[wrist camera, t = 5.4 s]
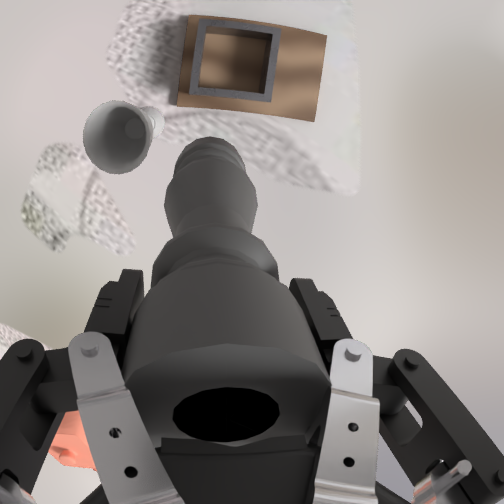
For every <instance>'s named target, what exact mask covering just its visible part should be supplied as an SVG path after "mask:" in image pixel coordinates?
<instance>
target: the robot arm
mask: <svg viewBox="0 0 504 504" xmlns="http://www.w3.org/2000/svg"><path fill="white" fill-rule="evenodd" d="M289 290H290V292H291V293H292V295H293V296H294V298H295V299H296V301H297V302H298V304H299V305H300V307H301V308H302V310H303V313H304V315H305V317H306V320H307V322H308V325H309V327H310V330H311V332H312V335H313V337H314V340H315V342H316V345H317V347H318V350H319V352H320V355H321V357H322V360H323V363H324V365H325V368H326V370H327V373H328V375H329V378H330V380H331V383H332V386H328V388H327V390H326V392H325V394H324V396H323V400H322V403H321V406H320V409H319V411H318V413H317V415H316V417H315V419H314V421H313V423H312V425H311V426H308V428H307V430H306V432H305V433H304V434H302V435H292V436H280V437H270V438H267V439H263V440H260V441H256V442H253V443H249V444H245V445H242V446H237V447H234V446H228V445H223V444H218V443H213V442H208V441H204V440H200V439H182V438H163V437H161V447H156V448H154V446H153V444H152V442H151V440H150V438H149V435H148V433H147V431H146V429H145V426H144V424H143V422H142V420H141V417H140V415H139V412H138V410H137V408H136V405H135V403H134V400H133V398H132V395H131V393H130V391H129V389H128V388H126V386H125V385H124V380H123V377H122V375H121V373H122V368H123V363H124V358H125V353H126V349H127V344H128V339H129V335H130V331H131V326H132V322H133V318H134V313H135V312H136V310H137V309H138V307H139V306H140V304H141V302H142V301H143V299H144V282H143V271H142V270H132V269H123V270H122V273H121V276H120V279H119V281H118V282H114V281H109V282H108V283H107V284H106V285H104V286H103V287H102V288H101V290H100V292H99V295H98V297H97V300H96V302H95V304H94V307H93V309H92V312H91V314H90V317H89V320H88V322H87V325H86V328H85V330H84V333H81V334H79V335H77V336H75V337H74V338H73V339H72V340H71V342H70V344H69V346H68V347H67V348H63V349H56V350H47V351H45V350H44V347H43V345H42V344H41V343H40V342H38V341H36V340H34V339H23V340H19V341H17V342H15V343H14V344H13V345H11V347H10V348H9V349H8V350H7V352H6V353H5V354H4V356H3V357H2V359H1V360H0V504H36V502H35V500H34V499H33V497H32V496H31V493H32V490H33V487H34V485H35V482H36V480H37V477H38V475H39V472H40V470H41V467H42V465H43V463H44V460H45V458H46V456H47V453H48V451H49V449H50V446H51V444H52V442H53V439H54V437H55V435H56V433H57V430H58V428H59V426H60V424H61V422H62V420H63V417H64V415H65V413H66V412H71V411H78V410H79V414H80V417H81V421H82V425H83V428H84V432H85V435H86V439H87V442H88V445H89V449H90V452H91V455H92V458H93V461H94V464H95V467H96V470H97V473H98V475H99V478H100V481H101V484H100V485H99V486H98V487H97V488H96V489H95V490H94V491H93V492H92V493H91V494H90V495H89V496H87V497H86V498H85V499H84V500H83V501H82V502H81V503H80V504H411V503H409V502H408V501H406V500H405V499H403V498H402V497H400V496H398V495H397V494H395V493H394V492H392V491H391V490H389V489H388V488H386V487H385V486H383V485H381V484H380V483H379V482H377V481H376V469H377V456H378V455H377V454H378V439H379V438H378V437H379V433H380V434H381V436H382V437H383V439H384V441H385V442H386V443H387V445H388V447H389V448H390V450H391V451H392V453H393V455H394V456H395V458H396V459H397V461H398V462H399V464H400V466H401V467H402V469H403V470H404V472H405V473H406V475H407V476H408V478H409V480H410V481H411V483H412V484H413V486H414V492H413V494H414V497H413V499H412V504H495V503H497V502H498V501H500V500H501V499H503V498H504V456H503V454H502V453H501V452H500V451H499V449H498V448H497V447H496V445H495V444H494V443H493V441H492V440H491V439H490V437H489V436H488V435H487V433H486V432H485V431H484V430H483V429H482V427H481V426H480V425H479V424H478V422H477V421H476V420H475V418H474V417H473V416H472V415H471V413H470V412H469V411H468V410H467V408H466V407H465V406H464V405H463V403H462V402H461V401H460V400H459V399H458V397H457V396H456V395H455V394H454V393H453V391H452V390H451V389H450V388H449V386H448V385H447V384H446V383H445V382H444V380H443V379H442V378H441V377H440V376H439V375H438V373H437V372H436V371H435V370H434V369H433V368H432V367H431V365H430V364H429V363H428V362H427V361H426V360H425V358H424V357H423V356H422V355H421V354H419V353H418V352H415V351H413V350H410V349H401V350H399V351H397V352H396V353H395V355H394V357H393V358H392V359H390V358H384V357H379V356H374V355H372V352H371V350H370V349H369V347H367V346H366V345H365V344H364V343H362V342H360V341H358V340H354V339H353V338H352V336H351V334H350V332H349V330H348V328H347V326H346V324H345V322H344V321H343V319H342V317H340V313H339V311H338V310H337V308H336V306H335V304H334V302H333V300H332V299H331V298H330V297H329V296H328V295H327V294H326V293H324V292H323V291H321V292H320V291H318V290H317V288H316V286H315V284H314V282H313V280H311V279H302V278H293V279H292V280H291V282H290V286H289ZM408 400H409V401H410V402H411V404H412V405H413V406H414V408H415V409H416V411H417V412H418V413H419V415H420V416H421V418H422V421H423V425H422V428H421V427H420V425H419V424H418V422H417V421H416V420H415V418H414V417H413V416H412V414H411V413H410V412H409V410H408V409H407V407H406V406H405V404H406V402H407V401H408Z"/></svg>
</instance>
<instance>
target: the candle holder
mask: <svg viewBox="0 0 504 504" xmlns="http://www.w3.org/2000/svg"><path fill="white" fill-rule="evenodd" d="M257 206H258V204H257V197H256V190H255V187H254V185H253V183H252V182H251V181H250V179H249V177H248V176H247V174H246V170H245V165H244V162H243V160H242V158H241V156H240V155H239V153H238V152H237V150H236V149H235V147H234V146H233V145H231V144H230V143H228V142H227V141H225V140H224V139H220V138H215V137H205V138H200V139H196V140H195V141H193V142H192V143H190V144H189V145H187V146H186V147H185V148H184V150H183V151H182V153H181V154H180V156H179V157H178V160H177V162H176V165H175V170H174V175H173V179H172V180H171V182H170V183H169V185H168V187H167V190H166V197H165V203H164V208H165V212H166V216H167V219H168V223H169V226H170V229H171V232H172V235H173V239H171V240H169V241H168V242H167V243H166V245H165V246H164V248H163V249H162V251H161V252H160V254H159V255H158V257H157V259H156V260H155V262H154V264H153V270H152V280H151V289H150V290H149V291H148V293H147V295H146V296H145V298H144V299H143V301H142V302H141V304H140V306H139V307H138V309H137V310H136V312H135V313H134V318H133V322H132V326H131V331H130V335H129V339H128V344H127V349H126V353H125V358H124V363H123V368H122V373H121V375H122V377H123V380H124V385H125V386H126V388H128V389H129V391H130V393H131V395H132V398H133V400H134V403H135V405H136V408H137V410H138V412H139V415H140V417H141V420H142V422H143V424H144V426H145V429H146V431H147V433H148V435H149V438H150V440H151V442H152V444H153V446H154V448H156V447H161V437H163V438H182V439H200V440H204V441H208V442H213V443H218V444H223V445H228V446H234V447H237V446H242V445H245V444H249V443H253V442H256V441H260V440H263V439H267V438H270V437H280V436H292V435H302V434H304V433H305V432H306V430H307V428H308V426H311V425H312V423H313V421H314V419H315V417H316V415H317V413H318V411H319V409H320V406H321V403H322V400H323V396H324V394H325V392H326V390H327V388H328V386H332V383H331V380H330V378H329V375H328V373H327V370H326V368H325V365H324V363H323V360H322V357H321V355H320V352H319V350H318V347H317V345H316V342H315V340H314V337H313V335H312V332H311V330H310V327H309V325H308V322H307V320H306V317H305V315H304V313H303V310H302V308H301V307H300V305H299V304H298V302H297V301H296V299H295V298H294V296H293V295H292V293H291V292H290V290H289V289H288V287H287V286H286V285H284V284H282V283H280V282H279V275H278V266H277V262H276V261H275V259H274V257H273V256H272V254H271V253H270V251H269V250H268V248H267V247H266V245H265V244H264V242H263V241H262V240H260V239H259V238H257V237H256V236H254V235H252V234H251V233H252V228H253V224H254V219H255V215H256V211H257Z"/></svg>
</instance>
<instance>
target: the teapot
mask: <svg viewBox="0 0 504 504" xmlns="http://www.w3.org/2000/svg"><path fill="white" fill-rule="evenodd" d="M48 452H49V453H50V454H51V455H52V456H53V457H54V458H55V459H57V460H58V461H59V462H60V463H61V464H63V465H64V466H73V467H82V468H93V470H94V471H97V470H96V467H95V464H94V461H93V458H92V455H91V452H90V449H89V445H88V442H87V439H86V435H85V432H84V428H83V425H82V421H81V417H80V414H79V410H78V411H71V412H66V413H65V415H64V417H63V420H62V422H61V424H60V426H59V428H58V430H57V433H56V435H55V437H54V439H53V442H52V444H51V446H50V449H49V451H48Z"/></svg>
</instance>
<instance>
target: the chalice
mask: <svg viewBox="0 0 504 504" xmlns="http://www.w3.org/2000/svg"><path fill="white" fill-rule="evenodd" d="M164 124H165V121H164V116H163V115H162V113H161V112H160V111H159V110H158V109H157V108H154V107H143V108H139V107H136V106H134V105H132V104H130V103H127V102H125V101H109V102H106V103H103V104H101V105H100V106H99V107H97V108H96V109H95V110H93V112H92V113H91V114H90V116H89V117H88V119H87V121H86V124H85V127H84V131H83V143H84V147H85V150H86V153H87V155H88V157H89V158H90V160H91V162H92V163H93V164H95V165H96V166H97V167H98V168H99V169H101V170H103V171H105V172H107V173H110V174H123V173H127V172H130V171H132V170H133V169H135V168H136V167H138V166H139V165H140V164H141V163H142V161H143V160H144V159H145V157H146V156H147V152H148V150H149V147H150V145H151V142H152V139H154V138H156V137H157V136H159V135H160V134H161V132H162V131H163V128H164Z"/></svg>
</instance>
